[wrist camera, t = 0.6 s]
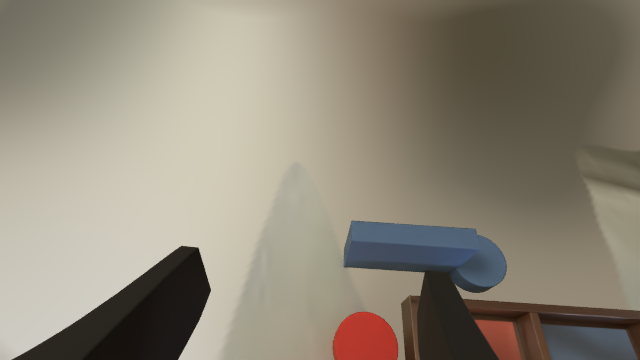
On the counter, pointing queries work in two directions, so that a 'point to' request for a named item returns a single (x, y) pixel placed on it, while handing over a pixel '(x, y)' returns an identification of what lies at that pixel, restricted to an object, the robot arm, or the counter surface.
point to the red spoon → (365, 339)
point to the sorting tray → (543, 331)
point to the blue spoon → (426, 252)
